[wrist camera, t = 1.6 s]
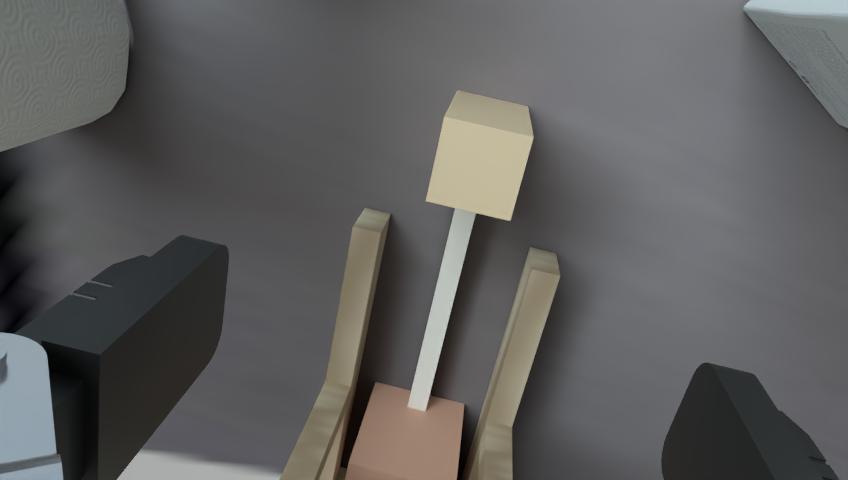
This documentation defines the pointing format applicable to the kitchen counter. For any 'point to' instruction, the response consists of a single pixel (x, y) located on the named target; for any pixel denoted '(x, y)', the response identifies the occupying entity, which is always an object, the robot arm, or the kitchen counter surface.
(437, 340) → the tethered block
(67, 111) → the tall grey box
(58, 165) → the kitchen counter surface
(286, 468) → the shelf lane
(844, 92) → the small box
